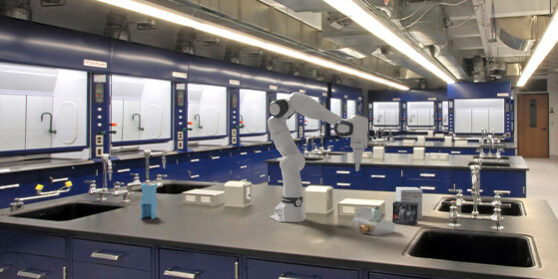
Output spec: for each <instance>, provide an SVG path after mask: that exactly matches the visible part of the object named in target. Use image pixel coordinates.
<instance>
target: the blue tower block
mask: <svg viewBox="0 0 558 279" xmlns="http://www.w3.org/2000/svg"><path fill="white" fill-rule="evenodd" d="M157 187H158V183H154V184H147V183H142V184H140V188H141V198H140V201H139V205H140V218H139V219H140V220H142V219H144V218H146V217H148V218H150V217H151V220H154V219H156V218H158V215H157V208H158V203H159V202H158V201H159V200H158V197H157Z"/></svg>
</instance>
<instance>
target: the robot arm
mask: <svg viewBox="0 0 558 279" xmlns="http://www.w3.org/2000/svg"><path fill="white" fill-rule="evenodd" d="M267 110H268V114H269V115H270V117H269V118H268V119H267V126H268V131H269V134H270V135H271V139H272V141H273V144H274V145H275V148H276V150H277V151H278V152H279V153H280V155H281V157H282V158H281V159H280V161H279V168H280V170H281V176H282V184H283V185H282V187H283V189H282V190H283V192H282V194H283V195H282V196H281V202H280V203H279V204H277V206H276V207H275V208H274V214H272V215H270V218H272V219H274V220H276V221H277V222H279V223H281V222H282V223H300V222H305V220H306V219H307V217H306V216H305V206H304V204H303V201H304V197H303V181H302V177H301V171H302V170H303V169H304V168H305V166H306V159H305V157H304V156H303V155H302V152H301V151H300V149H299V147H298V146H297V144H296V143H295V141H294V137H293V136H292V134H291V131H290V129H289V127H288V124H287V120H289V119H291V118H292V117H293V116H294V115H295V114H296V113H299V114H300V115H301V116H303V117H306V118H308V119H310V120H319V121H323V122H326V123H328V124H330V125H332V126H333V131H334V134H335V135H336V136H338V137H340V138H350V148H352V151H353V152H352V153H353V156H352V157H353V163H355V165H354V166H355V172H359V171H360V167H361V163H362V160H363V154H364V152H365V149H367V148H368V132H369V118H368V117H367V116H366V115H363V114H360V113H359V114H358V113H354V114H352V115H351V116H350V117H347V118H343V117H342V116H339V115H338V114H336V113H334V112H332V111H330V110H329V109H327V107H325V106H324V105H323V104H321V103H320V102H318V101H317V100H316V99H314V98H313V97H311V96H309V95H307V94H305V93H302V92H300V91H294V92H292V93H291V94H290V95H289V97H288V98H280V99H275V100H273V101H271V102H270V103H269V104H268V108H267Z"/></svg>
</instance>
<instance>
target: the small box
mask: <svg viewBox="0 0 558 279" xmlns="http://www.w3.org/2000/svg"><path fill="white" fill-rule="evenodd" d="M417 214H418V203H411V202H401V201H396V200H395V201H393V202H392V221H391V222H393V223H394V224H397V225H404V226H405V225H406V226H416V225H418V219H417V216H418V215H417Z"/></svg>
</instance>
